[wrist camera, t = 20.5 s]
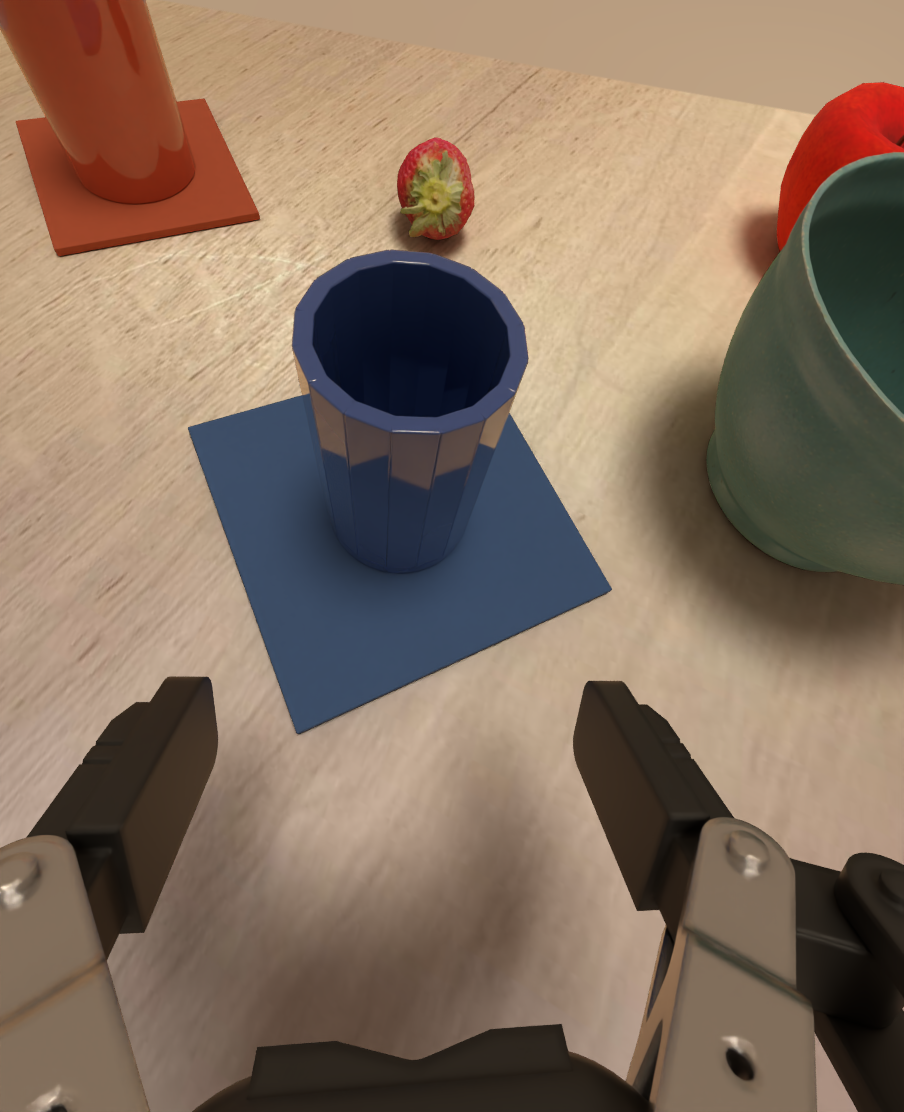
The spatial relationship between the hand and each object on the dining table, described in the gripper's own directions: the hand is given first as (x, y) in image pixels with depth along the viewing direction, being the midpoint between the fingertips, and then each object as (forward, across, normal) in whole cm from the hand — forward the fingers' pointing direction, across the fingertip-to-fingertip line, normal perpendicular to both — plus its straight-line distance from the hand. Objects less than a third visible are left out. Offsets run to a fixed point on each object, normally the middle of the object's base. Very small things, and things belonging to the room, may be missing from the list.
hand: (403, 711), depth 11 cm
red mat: (+27, +15, -14) cm, 34 cm away
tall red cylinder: (+26, +15, -14) cm, 34 cm away
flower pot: (+15, -20, -2) cm, 25 cm away
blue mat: (+13, 0, 0) cm, 13 cm away
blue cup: (+13, 0, 0) cm, 13 cm away
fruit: (+26, -1, -13) cm, 29 cm away
